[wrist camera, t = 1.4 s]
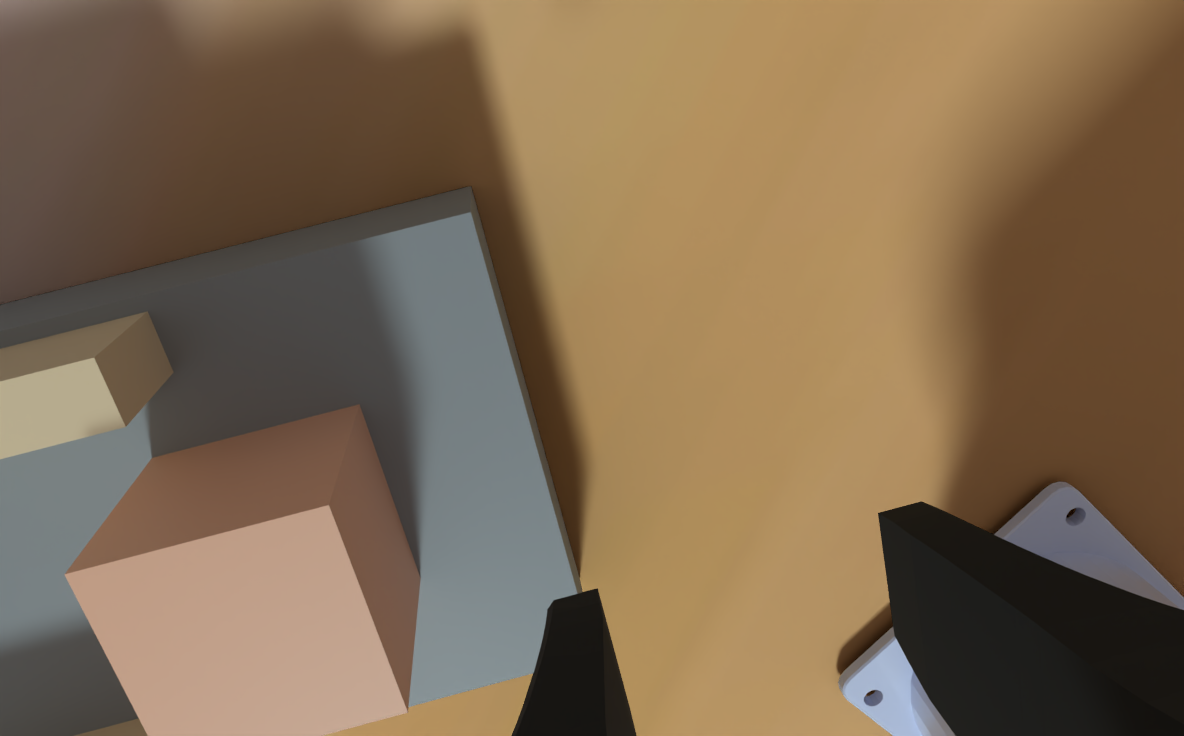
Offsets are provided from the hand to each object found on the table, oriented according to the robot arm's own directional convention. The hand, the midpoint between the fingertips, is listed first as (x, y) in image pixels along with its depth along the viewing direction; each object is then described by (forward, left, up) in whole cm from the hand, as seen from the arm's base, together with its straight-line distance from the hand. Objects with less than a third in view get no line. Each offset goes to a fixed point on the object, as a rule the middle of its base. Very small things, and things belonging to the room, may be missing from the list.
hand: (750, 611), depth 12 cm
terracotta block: (+4, +6, -6) cm, 10 cm away
